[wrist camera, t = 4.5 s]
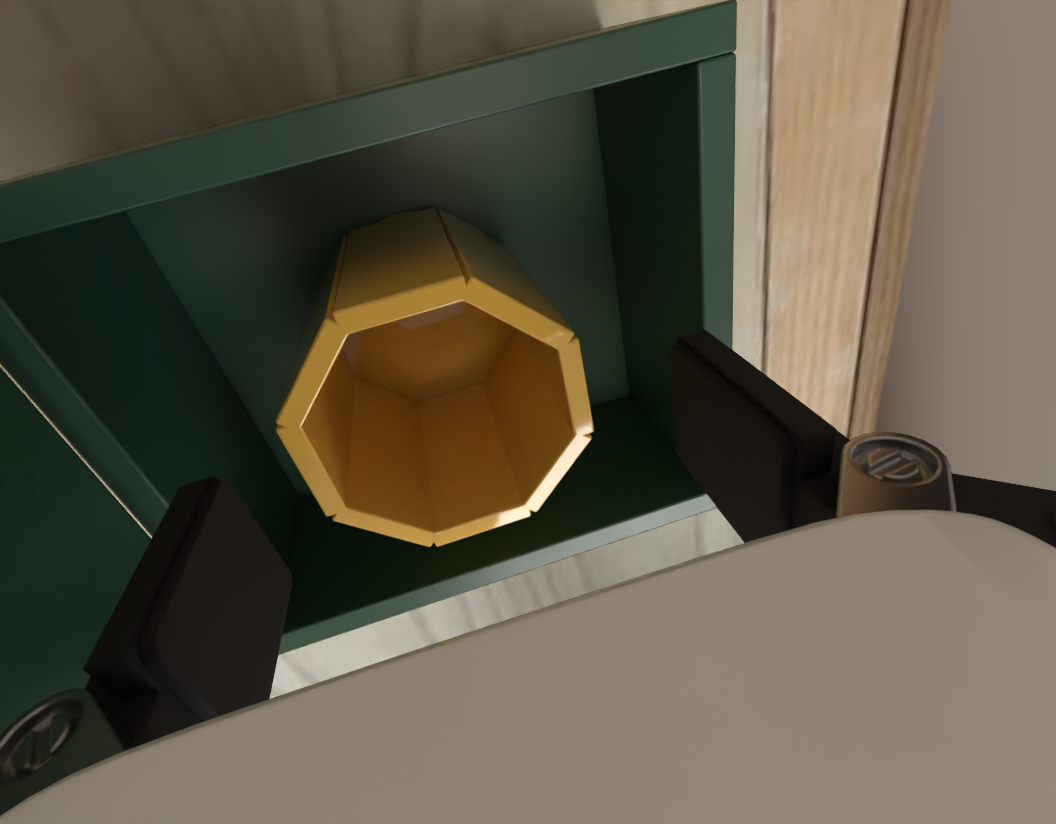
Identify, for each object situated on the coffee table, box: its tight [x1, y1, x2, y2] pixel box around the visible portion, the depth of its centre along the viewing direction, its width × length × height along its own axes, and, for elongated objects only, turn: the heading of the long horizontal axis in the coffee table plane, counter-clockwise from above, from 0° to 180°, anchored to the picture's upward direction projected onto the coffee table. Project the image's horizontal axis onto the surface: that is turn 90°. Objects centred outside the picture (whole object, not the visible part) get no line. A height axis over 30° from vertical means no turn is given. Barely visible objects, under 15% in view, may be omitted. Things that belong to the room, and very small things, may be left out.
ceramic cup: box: [275, 208, 594, 547], centre depth 14 cm, size 6×6×7 cm
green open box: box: [0, 0, 737, 655], centre depth 15 cm, size 15×13×7 cm
